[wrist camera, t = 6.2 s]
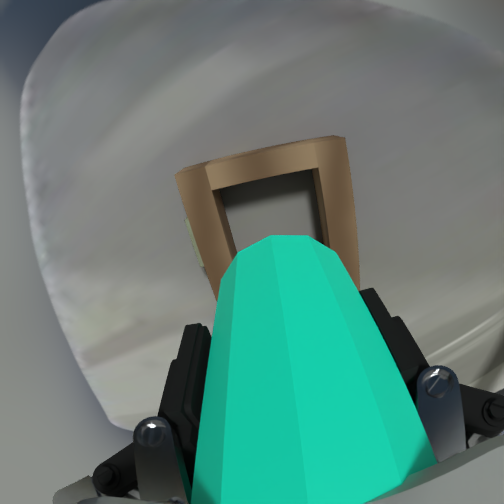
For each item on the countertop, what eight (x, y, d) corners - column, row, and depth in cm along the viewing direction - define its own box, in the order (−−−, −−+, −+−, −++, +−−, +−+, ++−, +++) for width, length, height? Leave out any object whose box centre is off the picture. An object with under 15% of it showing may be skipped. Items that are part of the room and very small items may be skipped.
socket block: (333, 135, 20) (344, 137, 17) (352, 342, 30) (359, 361, 27) (179, 169, 21) (169, 176, 19) (245, 362, 31) (244, 382, 28)
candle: (237, 217, 11) (203, 624, 1) (367, 252, 12) (513, 513, 1) (208, 328, 14) (177, 579, 3) (318, 347, 15) (363, 565, 4)
